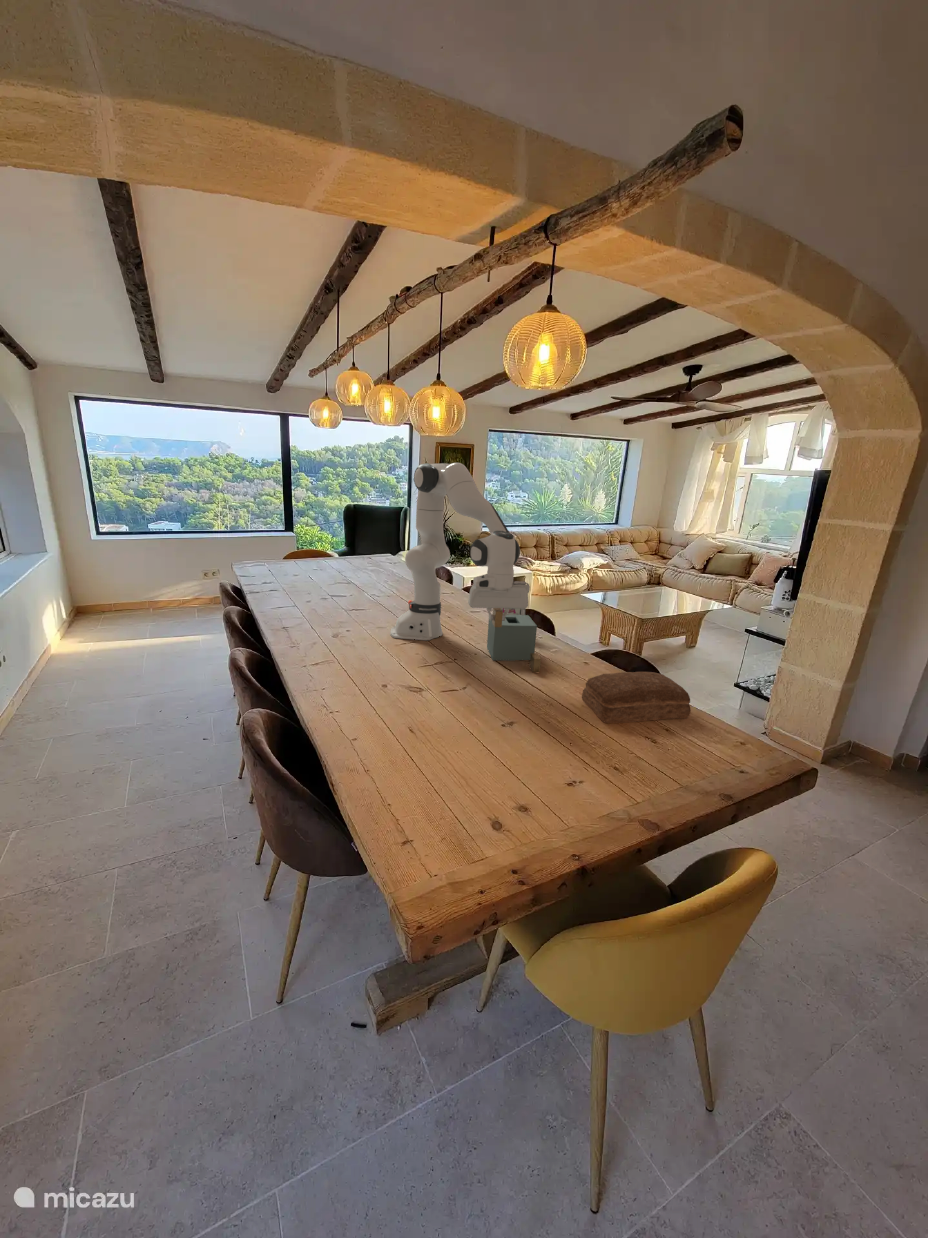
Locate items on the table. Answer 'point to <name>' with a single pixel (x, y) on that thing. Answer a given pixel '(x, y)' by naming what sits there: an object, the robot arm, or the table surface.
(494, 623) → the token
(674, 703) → the bread
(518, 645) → the coin box
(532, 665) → the token
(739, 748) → the table surface
